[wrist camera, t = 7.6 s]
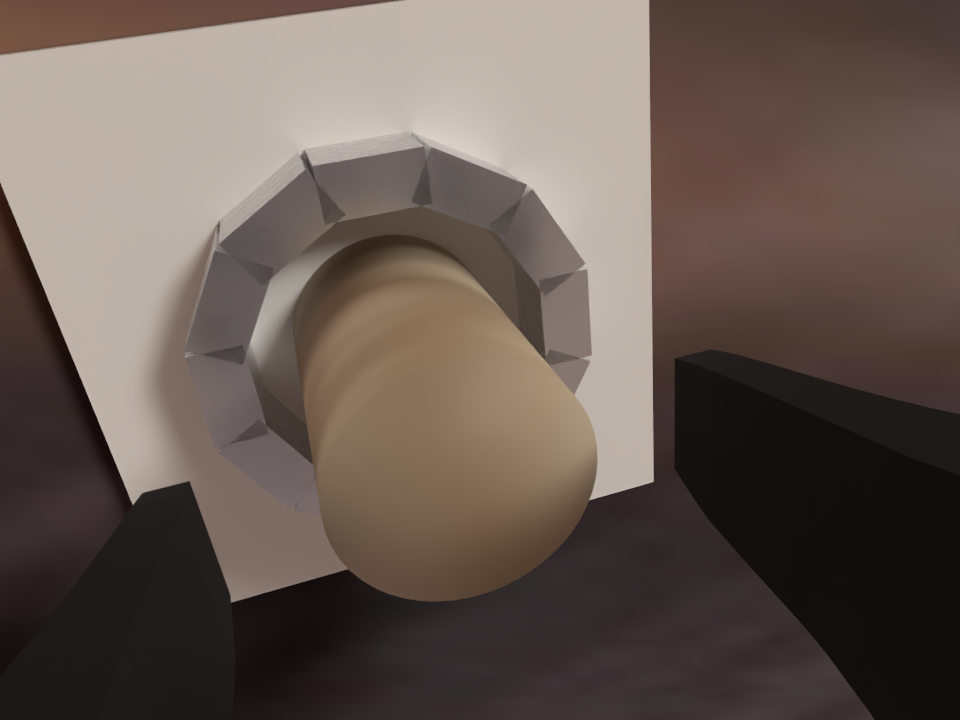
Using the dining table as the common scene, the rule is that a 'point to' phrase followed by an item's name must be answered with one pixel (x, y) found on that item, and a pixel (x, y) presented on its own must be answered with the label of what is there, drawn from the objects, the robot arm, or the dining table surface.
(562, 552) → the dining table surface
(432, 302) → the maple peg
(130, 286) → the peg holder
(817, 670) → the dining table surface
